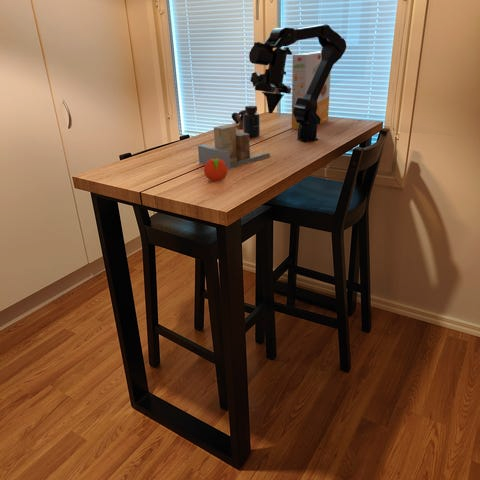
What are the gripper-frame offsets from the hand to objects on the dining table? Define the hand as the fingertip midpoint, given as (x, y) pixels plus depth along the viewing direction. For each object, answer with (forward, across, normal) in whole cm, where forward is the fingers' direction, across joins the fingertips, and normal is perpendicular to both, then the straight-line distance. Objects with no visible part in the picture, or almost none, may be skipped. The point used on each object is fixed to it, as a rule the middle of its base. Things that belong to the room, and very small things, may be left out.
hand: (270, 113), depth 156 cm
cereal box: (+6, -44, +1) cm, 44 cm away
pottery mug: (+10, -32, -27) cm, 43 cm away
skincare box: (+17, +22, -3) cm, 28 cm away
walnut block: (+16, +17, -2) cm, 24 cm away
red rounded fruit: (+19, +40, +4) cm, 44 cm away
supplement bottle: (+12, -16, -14) cm, 24 cm away
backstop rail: (+16, +18, -2) cm, 24 cm away
